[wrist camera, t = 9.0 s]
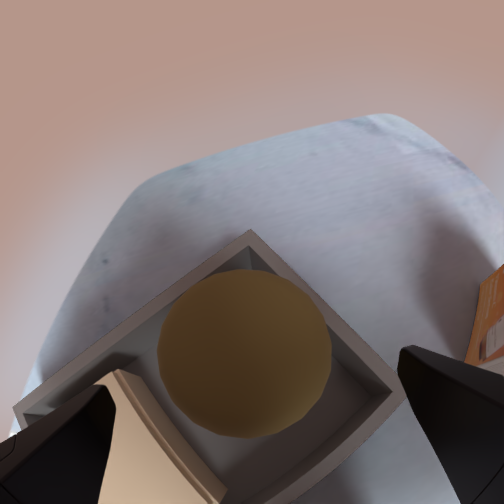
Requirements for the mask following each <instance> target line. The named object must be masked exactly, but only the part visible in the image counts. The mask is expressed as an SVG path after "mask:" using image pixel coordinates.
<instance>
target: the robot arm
mask: <svg viewBox="0 0 504 504" xmlns="http://www.w3.org/2000/svg"><path fill="white" fill-rule="evenodd" d="M397 373H398V377H399V379H400V382H401V384H402V386H403V389H404V391H405V393H406V396H407V398H408V400H409V403H410V405H411V408H412V410H413V412H414V414H415V416H416V418H417V420H418V422H419V423H420V425H421V427H422V429H423V431H424V432H425V434H426V436H427V438H428V440H429V442H430V443H431V445H432V447H433V449H434V451H435V453H436V455H437V457H438V459H439V460H440V462H441V464H442V466H443V468H444V470H445V472H446V474H447V476H448V478H449V480H450V482H451V484H452V486H453V488H454V490H455V492H456V494H457V496H458V498H459V501H460V503H461V504H504V376H503V375H501V374H498V373H495V372H492V371H489V370H486V369H483V368H479V367H476V366H473V365H470V364H467V363H464V362H461V361H458V360H456V359H453V358H450V357H447V356H444V355H441V354H438V353H435V352H432V351H429V350H427V349H424V348H421V347H418V346H415V345H410V346H407V347H403V348H402V349H401V351H400V355H399V362H398V368H397ZM115 416H116V405H115V402H114V400H113V398H112V396H111V394H110V392H109V389H108V388H107V386H106V385H103V384H94V385H92V386H90V387H89V388H87V389H86V390H84V391H83V392H81V393H79V394H78V395H76V396H75V397H73V398H72V399H70V400H69V401H67V402H66V403H64V404H62V405H61V406H59V407H58V408H56V409H55V410H53V411H52V412H50V413H48V414H47V415H45V416H44V417H42V418H41V419H39V420H37V421H36V422H34V423H33V424H31V425H29V426H28V427H26V428H25V429H23V430H21V431H20V432H18V433H17V435H16V434H15V435H13V436H12V437H10V438H8V439H7V440H5V441H3V442H2V443H0V504H98V501H99V496H100V492H101V487H102V483H103V478H104V474H105V470H106V466H107V462H108V458H109V453H110V449H111V443H112V436H113V429H114V422H115Z"/></svg>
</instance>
